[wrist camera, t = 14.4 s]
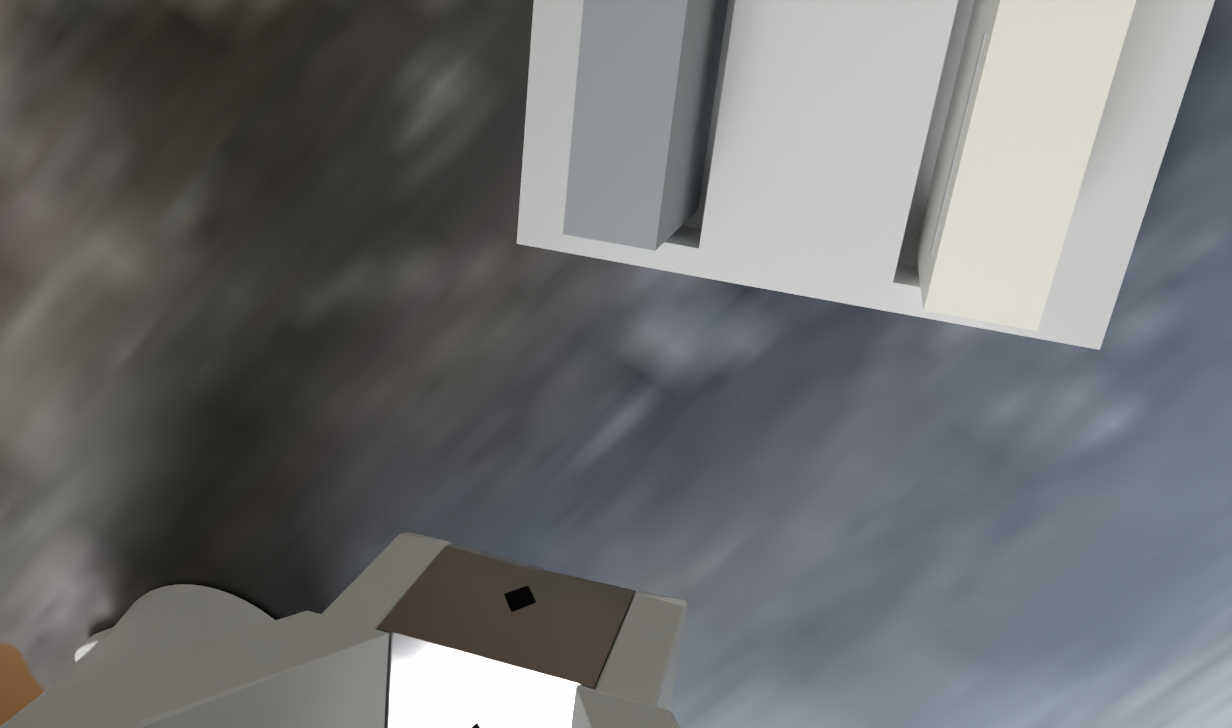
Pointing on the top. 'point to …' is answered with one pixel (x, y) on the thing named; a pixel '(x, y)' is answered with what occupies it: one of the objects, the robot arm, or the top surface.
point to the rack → (810, 144)
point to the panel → (1015, 154)
